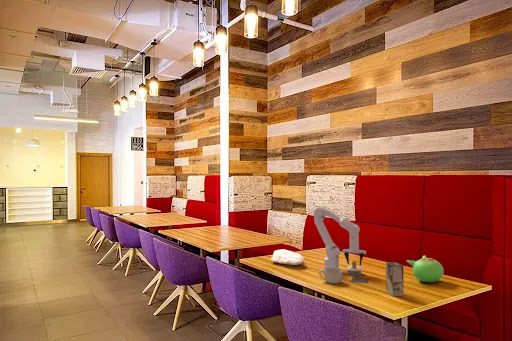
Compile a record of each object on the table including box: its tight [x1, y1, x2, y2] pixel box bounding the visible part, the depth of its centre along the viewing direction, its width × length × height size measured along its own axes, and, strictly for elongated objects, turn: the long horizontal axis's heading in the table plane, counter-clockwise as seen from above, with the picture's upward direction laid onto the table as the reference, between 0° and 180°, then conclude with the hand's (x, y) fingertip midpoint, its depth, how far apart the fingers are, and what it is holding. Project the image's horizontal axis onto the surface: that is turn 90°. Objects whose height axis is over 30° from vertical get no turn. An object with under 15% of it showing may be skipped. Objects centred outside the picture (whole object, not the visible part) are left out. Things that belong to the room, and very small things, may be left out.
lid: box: [345, 260, 363, 272], centre depth 241 cm, size 10×10×5 cm
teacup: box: [318, 267, 343, 285], centre depth 223 cm, size 14×11×8 cm
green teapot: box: [406, 255, 445, 283], centre depth 225 cm, size 18×17×15 cm
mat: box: [350, 276, 370, 284], centre depth 227 cm, size 10×11×1 cm
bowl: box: [347, 270, 362, 277], centre depth 242 cm, size 8×8×4 cm
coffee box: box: [385, 261, 405, 297], centre depth 203 cm, size 9×6×16 cm
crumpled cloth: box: [270, 248, 305, 266], centre depth 273 cm, size 24×35×9 cm
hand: (354, 264), depth 242 cm, fingers open, 7 cm apart
